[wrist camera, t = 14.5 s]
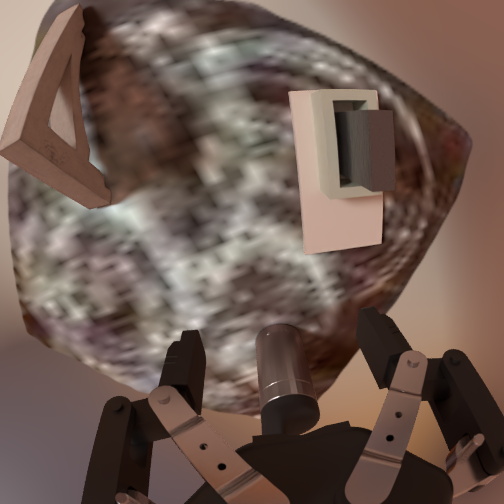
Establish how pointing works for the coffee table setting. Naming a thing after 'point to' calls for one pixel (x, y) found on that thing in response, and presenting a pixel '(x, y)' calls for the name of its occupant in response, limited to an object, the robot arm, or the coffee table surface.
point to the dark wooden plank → (367, 148)
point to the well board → (331, 174)
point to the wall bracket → (55, 117)
